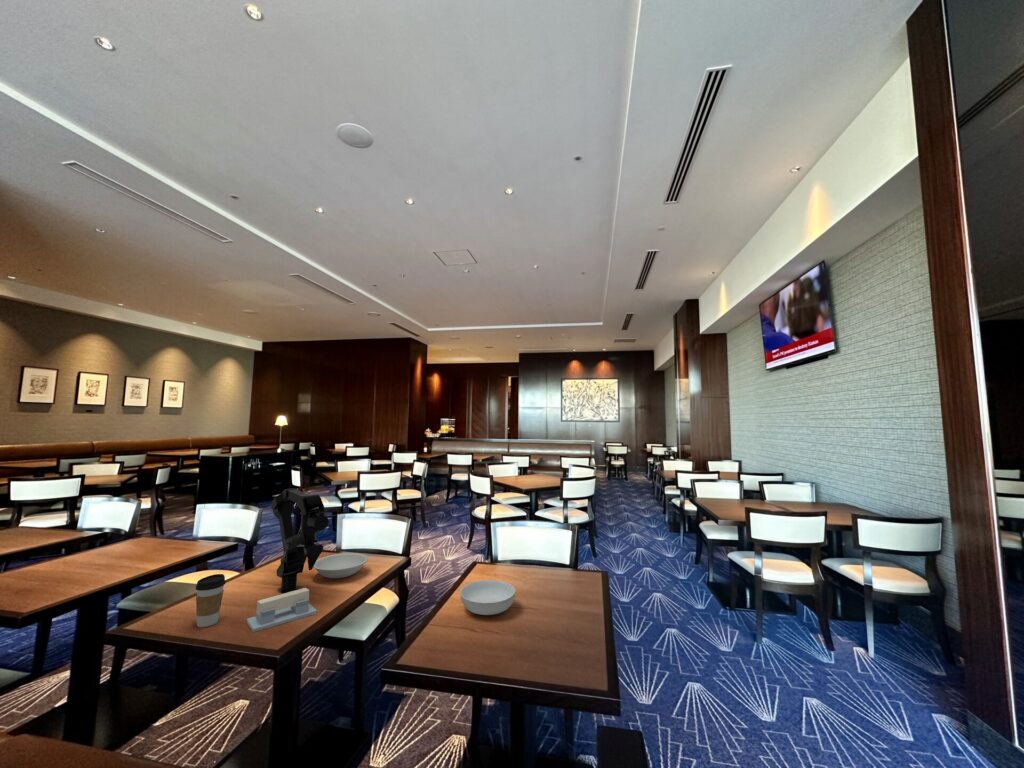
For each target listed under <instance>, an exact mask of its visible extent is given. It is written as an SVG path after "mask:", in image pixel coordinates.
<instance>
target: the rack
mask: <svg viewBox="0 0 1024 768" xmlns="http://www.w3.org/2000/svg"><path fill="white" fill-rule="evenodd" d="M255 611H256V612H255V616H252V617H249V618H246V623H247V625H248V626H249V628H250V629H251V631H252V633H255V632H259V631H263V630H265V629H269V628H271V627H275V626H279V625H283V624H285V623H289V622H293V621H296V620H300V619H303V618H306V617H310V616H312V615H313V616H314V615H316V614H317V612H318V611H317V609H316V608H315V607H313V605H312V604H310V598H309V599H306V600H302V601H299V602H296V606H292V607H289V608H285V609H282V610H279V611H275V608H272V609H269V610H265V611H261V616H259V615H258V614H257V608H256V610H255Z"/></svg>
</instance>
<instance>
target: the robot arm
mask: <svg viewBox="0 0 1024 768" xmlns="http://www.w3.org/2000/svg"><path fill="white" fill-rule="evenodd" d="M322 500H323V499H322V498H321V495H320V494H318V493H315V494H314V493H310V494H308V493H305V492H303V491H301V490H298V488H295V487H294V488H286V489H283V490H282V492H281V493H279V494H278V495H277V496H275V497H274V499H273V500H272V502H271V504H270V506H271V507H270V508H271V510H272V514H273V515H274V516H275V518H277V519H278V523H279V528H280V529H279V530H280V535H281V536H280V537H281V541H282V549H283V554H282V556H281V558H280V564H279V566H278V567H277V569H276V576H277V577H279V578H280V579H281V585H280V587H278V588H277V590H278V591H279V592H280V593H281V594H284V593H288V592H292V591H295V590H299V589H300V587H299V586H298V585H297V584H298V582H297V581H298V574H302V573H303V572H304V567H305V563H306V561H307V568H308V571H311V570H313V569H314V568H313V566H314V565H315V563H316V561H317V559H319V558H320V555H321V554H322V553H323V552H324V545H323V544H322V543H319V542H318V539H317V533H318V532H322V531H325V529H326V528H328V526H329V523H330V520H329V518H328V517H327V516H326V515H325V507H326V506H325V505H324V503H323V501H322ZM296 504H297V507H298V508H299V510H300V512H299V514H300V515H301V520H300V529H299V530H298V532H297V534H295V531H294V525H293V518H292V514H293V511H294V509H295V505H296Z"/></svg>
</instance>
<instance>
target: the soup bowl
mask: <svg viewBox="0 0 1024 768" xmlns="http://www.w3.org/2000/svg"><path fill="white" fill-rule="evenodd" d="M368 561H369V557H368V556H367V555H366V554H363V553H356V552H344V553H336V554H330V555H326V556H322V557H319V558H318V559H317V561H316V563H315V565H314V566H313V568H312V569H315V570H316V571H317V573H318V574H319V575H320V576H322V577H325V578H328V579H342V578H347V577H350V576H353V575H355V574H356V573H358V572H359V571H360V570H361V569H362V568H363V566H364V565H365V564H366V563H367V562H368Z"/></svg>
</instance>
